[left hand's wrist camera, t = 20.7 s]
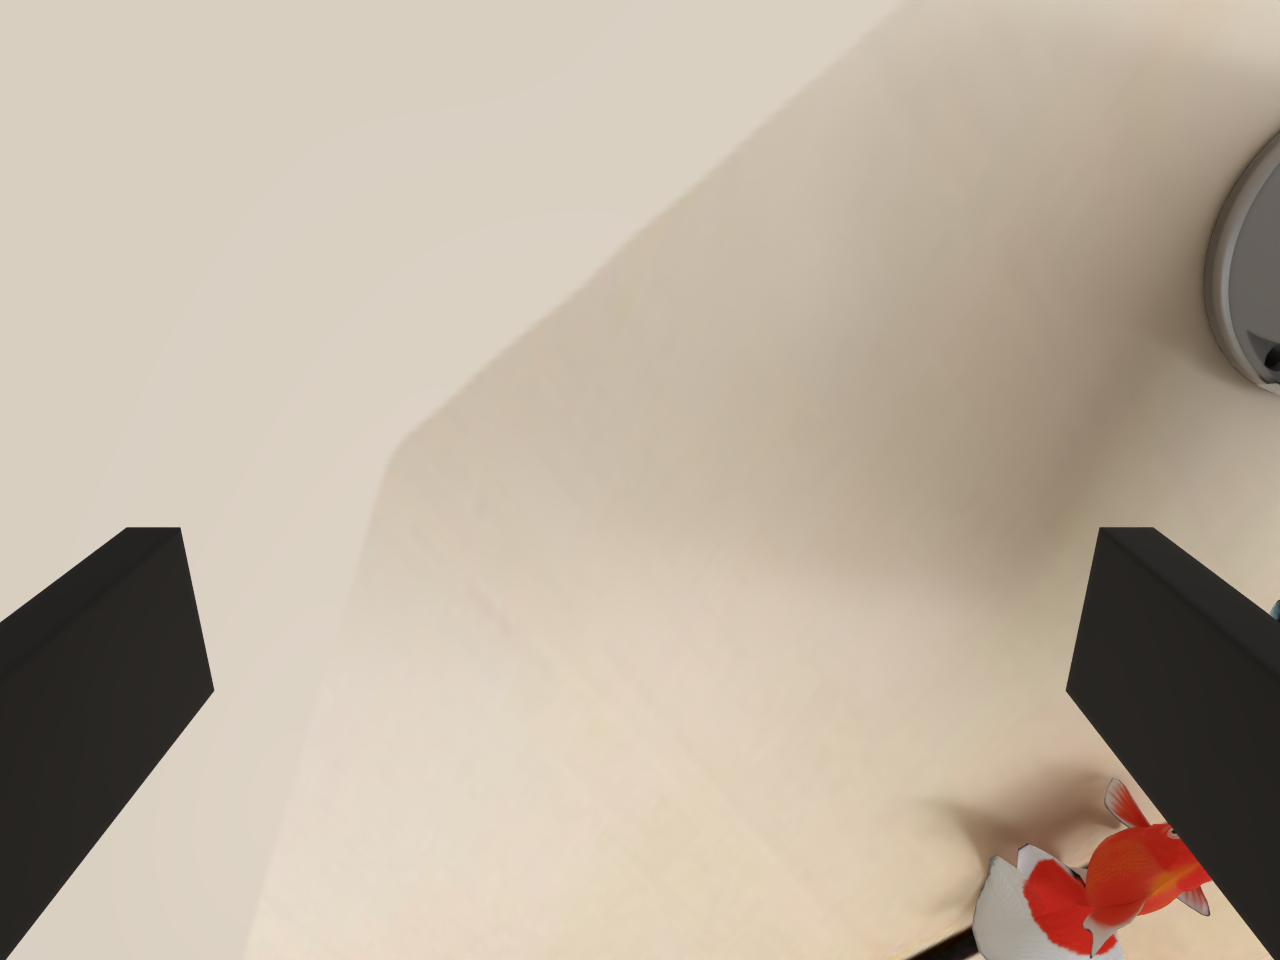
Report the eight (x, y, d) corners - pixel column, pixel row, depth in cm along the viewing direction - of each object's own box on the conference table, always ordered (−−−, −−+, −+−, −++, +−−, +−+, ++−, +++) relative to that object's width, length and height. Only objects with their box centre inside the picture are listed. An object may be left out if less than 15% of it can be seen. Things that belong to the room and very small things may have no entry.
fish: (1273, 925, 52) (1286, 1056, 44) (1009, 929, 61) (979, 1038, 53) (1203, 758, 52) (1203, 859, 43) (949, 787, 61) (909, 875, 52)
